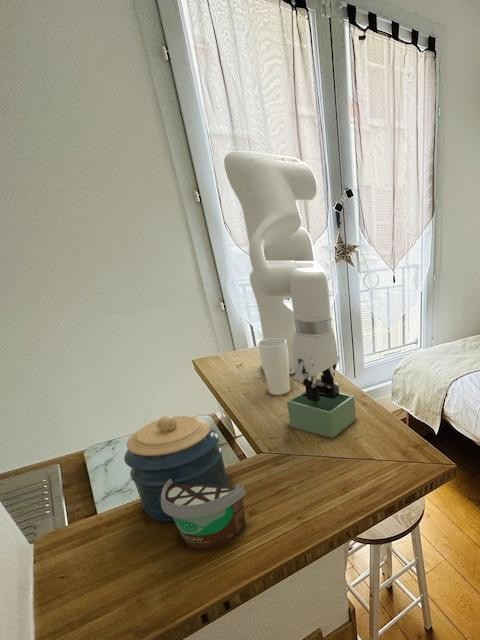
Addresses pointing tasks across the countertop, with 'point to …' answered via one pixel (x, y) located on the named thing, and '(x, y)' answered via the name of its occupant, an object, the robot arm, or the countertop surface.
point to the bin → (322, 414)
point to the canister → (173, 459)
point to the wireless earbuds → (327, 389)
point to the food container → (205, 512)
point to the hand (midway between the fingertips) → (320, 394)
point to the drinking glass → (275, 364)
